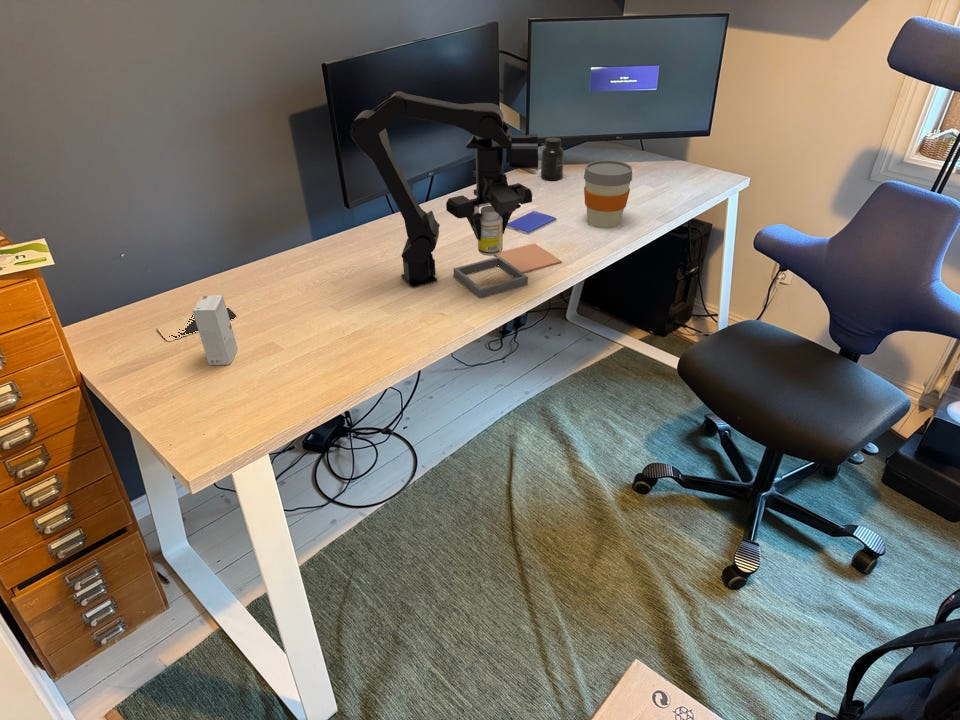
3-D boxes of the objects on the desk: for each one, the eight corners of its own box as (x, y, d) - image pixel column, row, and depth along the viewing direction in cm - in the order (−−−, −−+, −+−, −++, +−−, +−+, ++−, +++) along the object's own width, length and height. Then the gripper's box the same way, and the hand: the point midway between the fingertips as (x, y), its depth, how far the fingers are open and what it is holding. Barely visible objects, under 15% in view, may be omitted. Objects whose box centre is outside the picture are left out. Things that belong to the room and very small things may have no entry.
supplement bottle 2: (560, 173, 218) (562, 136, 211) (564, 181, 213) (566, 142, 206) (539, 174, 218) (540, 136, 211) (542, 181, 212) (543, 143, 206)
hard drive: (533, 210, 190) (504, 223, 183) (556, 217, 186) (528, 231, 178) (532, 215, 191) (504, 229, 184) (556, 222, 186) (528, 237, 179)
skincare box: (231, 365, 130) (216, 310, 123) (207, 366, 130) (191, 311, 123) (238, 347, 135) (224, 294, 128) (215, 348, 135) (200, 295, 128)
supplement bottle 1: (488, 244, 157) (488, 202, 151) (507, 250, 154) (507, 207, 148) (472, 252, 153) (471, 209, 147) (491, 259, 150) (491, 215, 144)
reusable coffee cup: (571, 221, 186) (574, 167, 177) (600, 209, 192) (605, 157, 184) (606, 234, 178) (612, 179, 169) (636, 222, 185) (643, 167, 176)
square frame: (479, 298, 150) (479, 290, 149) (453, 276, 160) (453, 268, 158) (527, 284, 155) (527, 276, 154) (499, 263, 165) (499, 256, 163)
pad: (519, 274, 160) (519, 272, 159) (494, 255, 168) (494, 253, 168) (561, 262, 165) (561, 260, 164) (534, 245, 173) (534, 243, 173)
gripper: (469, 187, 133) (470, 260, 142) (547, 171, 141) (545, 240, 149) (443, 171, 141) (446, 241, 150) (519, 156, 149) (518, 223, 157)
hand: (490, 237), depth 151 cm, fingers closed on supplement bottle 1, 5 cm apart
